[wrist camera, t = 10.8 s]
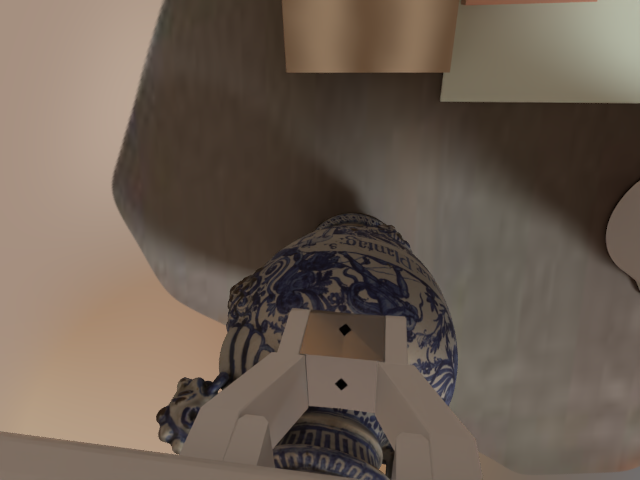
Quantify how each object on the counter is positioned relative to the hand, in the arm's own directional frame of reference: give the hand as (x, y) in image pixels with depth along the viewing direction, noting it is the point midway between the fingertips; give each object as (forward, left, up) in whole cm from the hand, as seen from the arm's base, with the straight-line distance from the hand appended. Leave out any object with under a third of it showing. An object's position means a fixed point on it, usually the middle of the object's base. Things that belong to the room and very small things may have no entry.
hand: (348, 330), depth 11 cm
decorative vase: (+2, +18, -31) cm, 36 cm away
